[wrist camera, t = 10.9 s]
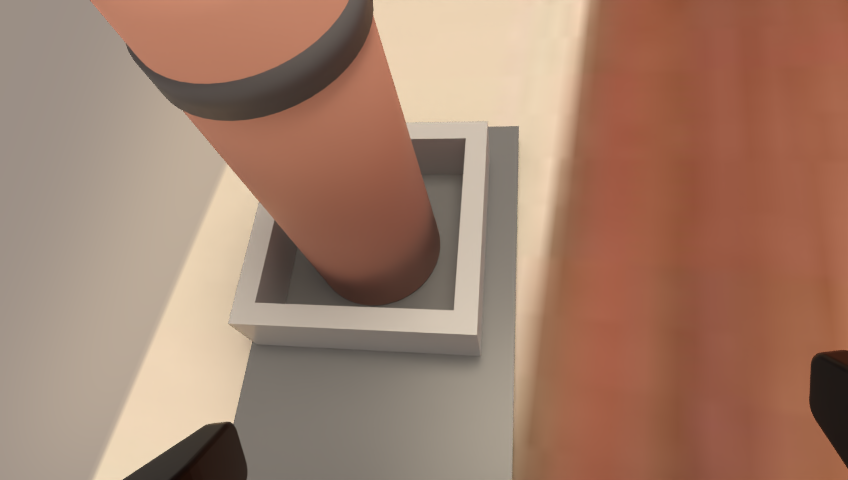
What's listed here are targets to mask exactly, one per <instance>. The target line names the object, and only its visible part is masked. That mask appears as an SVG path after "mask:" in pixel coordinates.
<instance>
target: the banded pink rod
mask: <svg viewBox="0 0 848 480" xmlns="http://www.w3.org/2000/svg"><path fill="white" fill-rule="evenodd" d="M90 1H91V2H92V3H93V4H94V6H95V7H96V8H97V9H98V10H99V11H100V13H101V14H102V15H103V16H104V17H105V19H106V20H107V21H108V22H109V23H110V25H111V26H112V27H113V28H114V29H115V30H116V32H117V33H118V34H119V35H120V36H121V38H122V39H123V40H124V41H125V42H126V45H127V48H128V51H129V53H130V55H131V56H132V57H133V59H134V61H135V62H136V63H137V65H139V67H140V68H141V69H142V70H143V71H144V73H145V74H146V75H147V76H148V77H149V79H150V80H151V81H152V82H153V83H154V84H155V85H156V87H157V88H158V89H159V90H160V91H161V93H162V94H163V95H164V96H165V97H166V98H167V99H168V100H169V101H170V102H171V103H172V104H174V105H175V106H176V107H178V108H179V109H181V110H183V112H184V113H185V114H186V115H187V116H188V117H189V119H190V120H191V121H192V122H193V123H194V125H195V126H196V127H197V128H198V129H199V131H200V132H201V133H202V134H203V135H204V136H205V138H206V139H207V140H208V141H209V142H210V144H211V145H212V146H213V147H214V148H215V150H216V151H217V152H218V153H219V154H220V156H221V157H222V158H223V159H224V160H225V161H226V163H227V164H228V165H229V166H230V167H231V169H232V170H233V171H234V172H235V173H236V175H237V176H238V177H239V178H240V179H241V181H242V182H243V183H244V184H245V185H246V186H247V188H248V189H249V190H250V191H251V192H252V194H253V195H254V196H255V197H256V198H257V200H258V201H259V202H260V203H261V204H262V206H263V207H264V208H265V209H266V210H267V211H268V213H269V214H270V215H271V216H272V217H273V219H274V220H275V221H276V222H277V223H278V225H279V226H280V227H281V228H282V229H283V231H284V232H285V233H286V234H287V235H288V236H289V238H290V239H291V240H292V241H293V242H294V244H295V245H296V246H297V247H298V248H299V250H300V251H301V252H302V253H303V254H304V256H305V257H306V258H307V259H308V260H309V261H310V263H311V264H312V265H313V266H314V267H315V269H316V270H317V271H318V272H319V273H320V275H321V276H322V277H323V278H324V279H325V281H326V282H327V283H328V284H329V285H330V286H331V287H332V289H333V290H334V291H335V292H337V293H338V294H339V295H340V296H342V297H344V298H345V299H347V300H349V301H352V302H354V303H358V304H362V305H384V304H389V303H392V302H396V301H398V300H401V299H403V298H405V297H407V296H408V295H410V294H412V293H413V292H414V291H416V290H417V289H418V288H419V287H420V286H421V285H422V284H423V283H424V282H425V281H426V280H427V279H428V277H429V276H430V274H431V273H432V271H433V269H434V267H435V265H436V263H437V260H438V257H439V251H440V235H439V231H438V227H437V224H436V220H435V217H434V214H433V211H432V207H431V204H430V201H429V197H428V194H427V191H426V188H425V184H424V181H423V178H422V174H421V171H420V168H419V165H418V161H417V158H416V155H415V151H414V148H413V145H412V142H411V138H410V135H409V132H408V128H407V125H406V122H405V119H404V115H403V112H402V109H401V105H400V102H399V99H398V96H397V92H396V89H395V86H394V82H393V79H392V76H391V73H390V69H389V66H388V63H387V59H386V56H385V53H384V50H383V46H382V43H381V40H380V36H379V33H378V30H377V27H376V23H375V20H374V17H373V0H90Z"/></svg>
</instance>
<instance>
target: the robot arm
mask: <svg viewBox="0 0 848 480" xmlns="http://www.w3.org/2000/svg"><path fill="white" fill-rule="evenodd" d="M809 403H810V408H811V412H812V414H813V416H814V418H815V420H816V421H817V423H818V424H819V426H820V427H821V429H822V430H823V432H824V433H825V435H826V436H827V438H828V439H829V441H830V442H831V444H832V445H833V447H834V448H835V450H836V452H837V453H838V455H839V456H840V458H841V459H842V461H843V462H844V464H845V465H846V467H847V468H848V351H847V350H838V351H830V352H822V353H817V354H816V355H815V356H814V357H813V359H812V362H811V375H810V396H809ZM247 475H248V468H247V462H246V458H245V455H244V452H243V449H242V445H241V442H240V439H239V435H238V432H237V429H236V427H235V426H234V424H232V423H231V422H221V423H213V424H208V425H205V426H203V427H202V428H200V429H199V430H197V431H196V432H194V433H193V434H191V435H190V436H188V437H187V438H185V439H184V440H182V441H181V442H179V443H178V444H176V445H175V446H173V447H172V448H170V449H168V450H167V451H165V452H164V453H162V454H161V455H159V456H158V457H156V458H155V459H153V460H152V461H150V462H149V463H147V464H146V465H144V466H143V467H141V468H140V469H138V470H137V471H135V472H134V473H132V474H131V475H129V476H128V477H126V478H124V479H123V480H247Z"/></svg>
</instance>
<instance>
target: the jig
mask: <svg viewBox="0 0 848 480" xmlns="http://www.w3.org/2000/svg"><path fill="white" fill-rule="evenodd" d="M406 125H407V128H408V132H409V135H410V138H411V142H412V145H413V148H414V151H415V155H416V158H417V161H418V165H419V168H420V171H421V174H422V178H423V181H424V184H425V188H426V191H427V194H428V197H429V201H430V204H431V207H432V211H433V214H434V217H435V220H436V224H437V227H438V231H439V235H440V251H439V257H438V260H437V263H436V265H435V267H434V269H433V271H432V273H431V274H430V276H429V277H428V279H427V280H426V281H425V282H424V283H423V284H422V285H421V286H420V287H419V288H418V289H417V290H416V291H414V292H413V293H412V294H410V295H408V296H407V297H405V298H403V299H401V300H398V301H396V302H392V303H389V304H384V305H362V304H358V303H354V302H352V301H349V300H347V299H345V298H344V297H342V296H340V295H339V294H338V293H337V292H335V291H334V290H333V289H332V287H331V286H330V285H329V284H328V283H327V282H326V281H325V279H324V278H323V277H322V276H321V275H320V273H319V272H318V271H317V270H316V269H315V267H314V266H313V265H312V264H311V263H310V261H309V260H308V259H307V258H306V257H305V256H304V254H303V253H302V252H301V251H300V250H299V248H298V247H297V246H296V245H295V244H294V242H293V241H292V240H291V239H290V238H289V236H288V235H287V234H286V233H285V232H284V231H283V229H282V228H281V227H280V226H279V225H278V223H277V222H276V221H275V220H274V219H273V217H272V216H271V215H270V214H269V213H268V211H267V210H266V209H265V208H264V207H263V206H262V204H261V203H260V202H259V204H258V208H257V212H256V216H255V220H254V224H253V228H252V232H251V235H250V239H249V243H248V247H247V251H246V255H245V259H244V263H243V267H242V271H241V275H240V279H239V283H238V286H237V290H236V294H235V298H234V302H233V306H232V310H231V314H230V318H229V322H228V324H229V325H231V326H232V327H233V328H235V329H236V330H238V331H239V332H240V333H242V334H243V335H245V336H246V337H247V338H249V339H250V340H251V341H253V342H252V346H251V350H250V355H249V359H248V363H247V368H246V372H245V376H244V381H243V385H242V389H241V394H240V398H239V402H238V407H237V411H236V415H235V420H234V426H235V427H236V429H237V432H238V435H239V439H240V442H241V445H242V449H243V452H244V455H245V458H246V462H247V468H248V475H247V480H512V455H513V402H514V349H515V296H516V244H517V191H518V138H519V126H509V127H488V121H479V122H415V123H406Z"/></svg>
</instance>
